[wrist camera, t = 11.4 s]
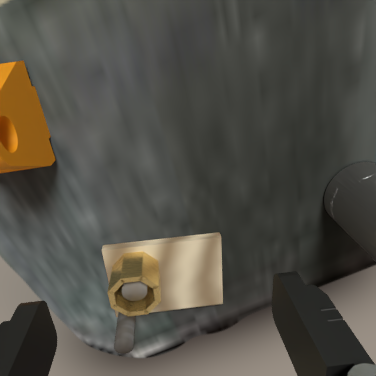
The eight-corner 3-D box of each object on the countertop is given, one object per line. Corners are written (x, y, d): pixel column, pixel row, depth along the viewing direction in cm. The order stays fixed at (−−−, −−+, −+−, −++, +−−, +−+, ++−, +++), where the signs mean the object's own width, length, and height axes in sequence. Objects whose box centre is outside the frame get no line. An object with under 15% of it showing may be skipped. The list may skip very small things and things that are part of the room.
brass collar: (156, 249, 43) (157, 274, 38) (161, 285, 45) (162, 312, 41) (110, 254, 42) (104, 280, 38) (117, 290, 45) (113, 318, 40)
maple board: (219, 232, 44) (232, 271, 36) (221, 297, 49) (233, 343, 41) (103, 245, 43) (92, 287, 35) (117, 310, 48) (110, 359, 40)
